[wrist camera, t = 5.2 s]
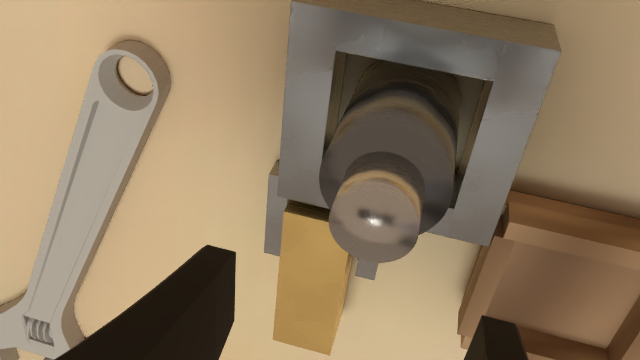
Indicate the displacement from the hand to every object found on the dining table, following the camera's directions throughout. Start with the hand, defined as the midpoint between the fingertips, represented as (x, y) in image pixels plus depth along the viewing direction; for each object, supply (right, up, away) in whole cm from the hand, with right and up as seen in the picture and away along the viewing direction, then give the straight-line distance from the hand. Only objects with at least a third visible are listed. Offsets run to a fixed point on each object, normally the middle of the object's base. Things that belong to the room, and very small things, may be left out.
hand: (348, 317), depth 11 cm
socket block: (+2, +4, +9) cm, 10 cm away
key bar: (0, 0, +13) cm, 12 cm away
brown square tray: (+9, -1, +10) cm, 13 cm away
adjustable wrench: (-12, -1, +17) cm, 21 cm away
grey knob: (+2, +5, +8) cm, 10 cm away
